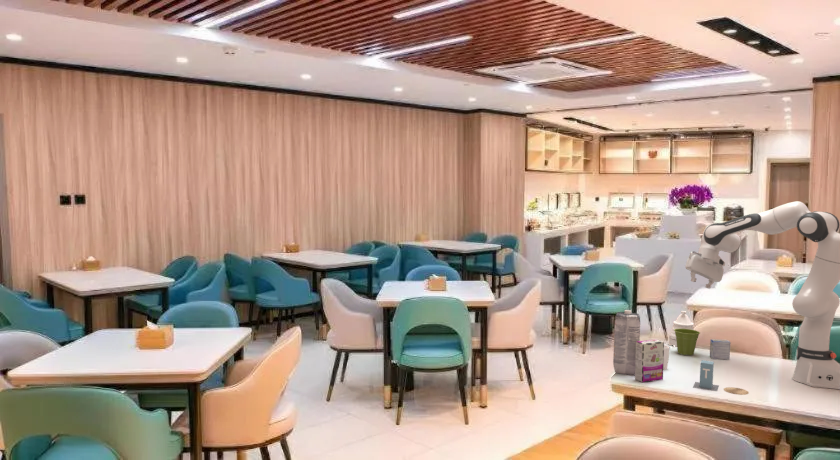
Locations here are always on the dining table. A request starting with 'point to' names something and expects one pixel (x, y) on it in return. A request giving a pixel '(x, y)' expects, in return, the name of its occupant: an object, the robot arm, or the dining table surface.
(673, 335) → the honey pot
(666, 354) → the white cup
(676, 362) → the dining table surface
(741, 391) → the coaster
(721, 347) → the medicine box
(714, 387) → the tile
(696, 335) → the plant pot
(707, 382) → the letter block
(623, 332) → the juice carton
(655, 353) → the candy bar box
